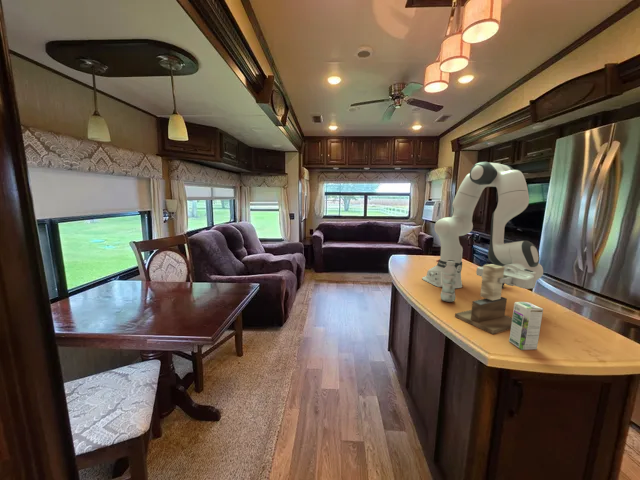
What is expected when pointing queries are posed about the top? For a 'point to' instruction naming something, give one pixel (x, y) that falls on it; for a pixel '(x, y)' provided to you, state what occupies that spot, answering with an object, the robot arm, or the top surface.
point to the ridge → (487, 315)
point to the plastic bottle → (449, 282)
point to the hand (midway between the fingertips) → (491, 278)
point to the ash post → (491, 282)
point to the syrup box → (525, 325)
